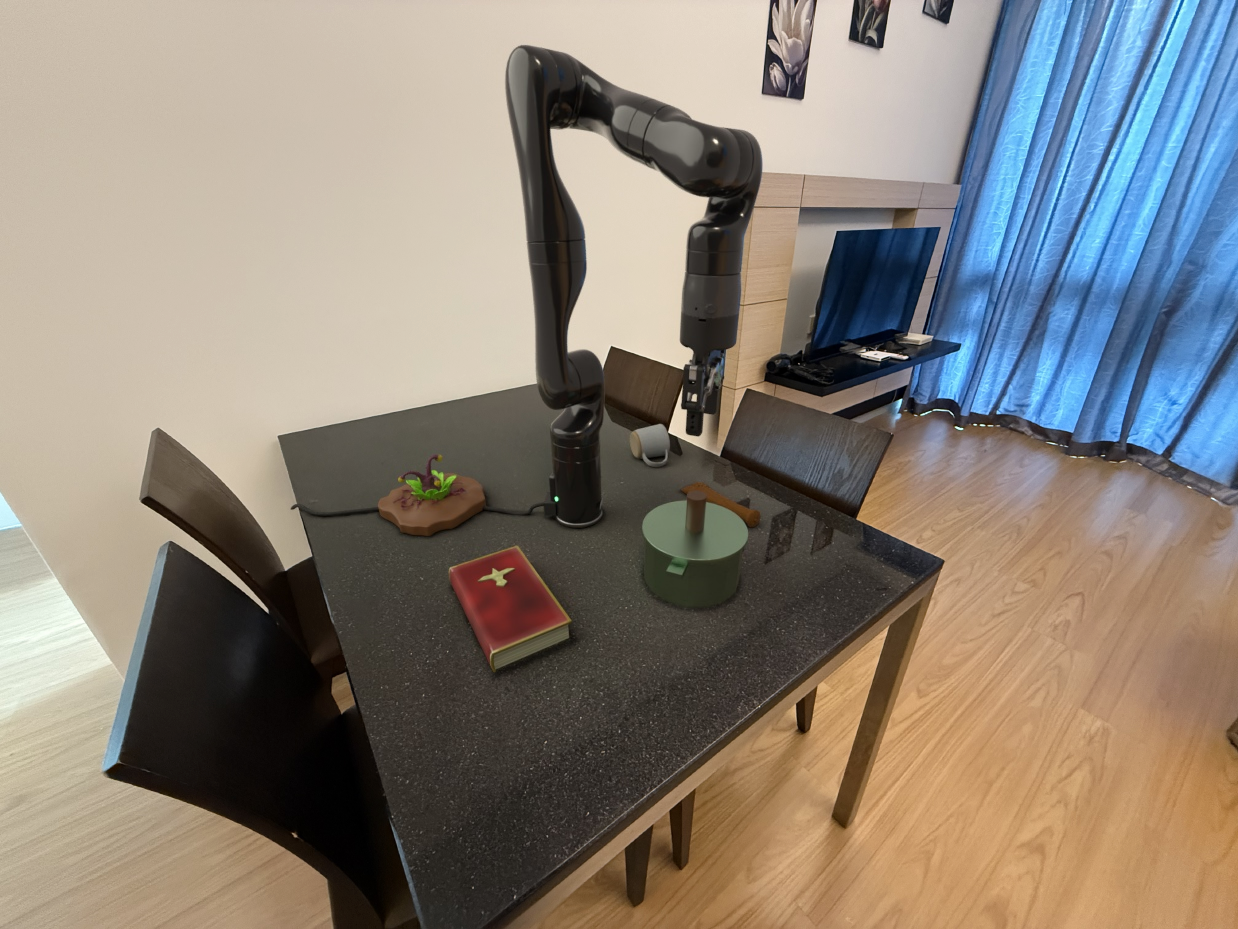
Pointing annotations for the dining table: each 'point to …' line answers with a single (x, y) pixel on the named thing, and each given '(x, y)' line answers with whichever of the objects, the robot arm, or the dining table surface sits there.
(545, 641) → the hardcover book
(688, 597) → the pot
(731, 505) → the primitive tool
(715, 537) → the lid
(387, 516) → the plant
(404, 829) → the dining table surface
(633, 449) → the ceramic mug
